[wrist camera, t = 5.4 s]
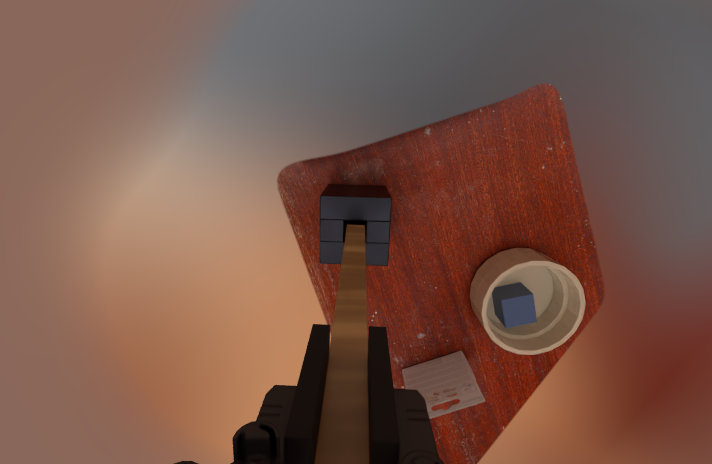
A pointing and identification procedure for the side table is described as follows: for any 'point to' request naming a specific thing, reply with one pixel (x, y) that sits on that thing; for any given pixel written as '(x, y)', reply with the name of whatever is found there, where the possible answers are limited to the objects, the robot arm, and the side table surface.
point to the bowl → (551, 297)
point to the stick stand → (355, 205)
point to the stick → (347, 364)
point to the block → (514, 305)
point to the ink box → (444, 383)
